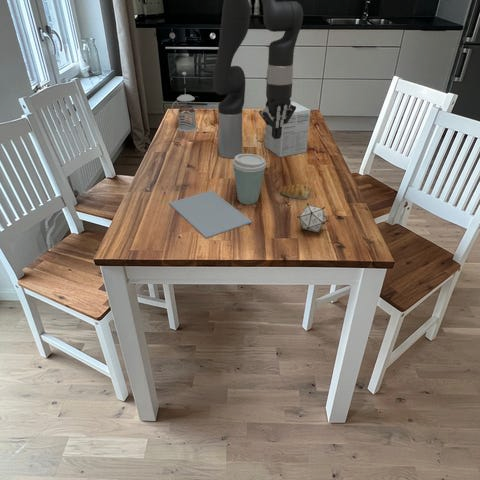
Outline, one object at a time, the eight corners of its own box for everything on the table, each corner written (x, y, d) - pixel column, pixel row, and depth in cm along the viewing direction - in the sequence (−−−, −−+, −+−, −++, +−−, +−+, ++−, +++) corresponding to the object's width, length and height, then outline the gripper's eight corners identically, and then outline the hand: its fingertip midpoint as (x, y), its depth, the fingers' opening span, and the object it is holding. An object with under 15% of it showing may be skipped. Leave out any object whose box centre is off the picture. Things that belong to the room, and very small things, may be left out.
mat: (168, 203, 134) (168, 202, 133) (211, 191, 141) (211, 190, 141) (206, 238, 117) (206, 237, 117) (252, 222, 125) (252, 221, 124)
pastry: (279, 198, 138) (280, 188, 136) (281, 189, 143) (282, 179, 141) (307, 201, 136) (309, 190, 134) (308, 191, 142) (309, 181, 140)
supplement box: (307, 152, 170) (311, 109, 161) (279, 157, 166) (282, 114, 156) (290, 141, 180) (293, 100, 170) (263, 146, 175) (265, 104, 166)
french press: (197, 132, 189) (194, 74, 175) (171, 131, 189) (166, 74, 175) (199, 125, 197) (196, 69, 183) (174, 124, 197) (170, 69, 183)
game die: (303, 238, 124) (292, 207, 124) (331, 229, 123) (320, 197, 123) (305, 241, 115) (293, 207, 115) (334, 231, 114) (322, 196, 114)
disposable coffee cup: (248, 189, 142) (249, 148, 134) (271, 200, 136) (274, 157, 128) (225, 199, 136) (225, 157, 128) (249, 211, 130) (250, 167, 121)
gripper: (289, 75, 126) (285, 131, 136) (253, 80, 120) (252, 138, 130) (305, 80, 121) (300, 137, 131) (269, 86, 115) (266, 146, 124)
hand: (276, 138), depth 130 cm, fingers closed
